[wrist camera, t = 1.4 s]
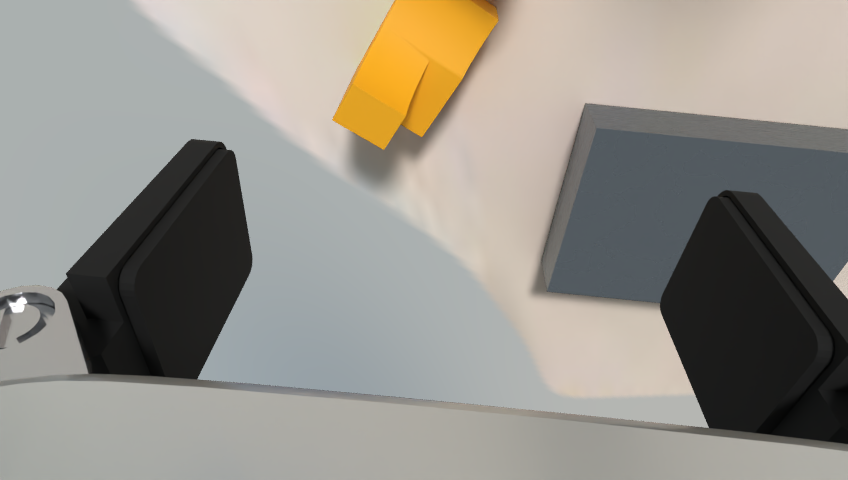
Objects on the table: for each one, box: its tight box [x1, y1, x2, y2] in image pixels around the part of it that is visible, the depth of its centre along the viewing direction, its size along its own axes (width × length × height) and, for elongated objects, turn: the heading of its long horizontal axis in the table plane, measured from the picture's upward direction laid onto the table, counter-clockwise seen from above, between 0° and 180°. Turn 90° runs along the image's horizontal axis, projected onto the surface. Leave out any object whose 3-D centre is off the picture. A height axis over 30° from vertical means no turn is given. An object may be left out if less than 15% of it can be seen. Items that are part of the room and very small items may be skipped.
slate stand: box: [541, 104, 848, 303], centre depth 30 cm, size 16×11×3 cm
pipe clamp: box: [332, 0, 499, 150], centre depth 22 cm, size 12×4×6 cm, turn 148°
